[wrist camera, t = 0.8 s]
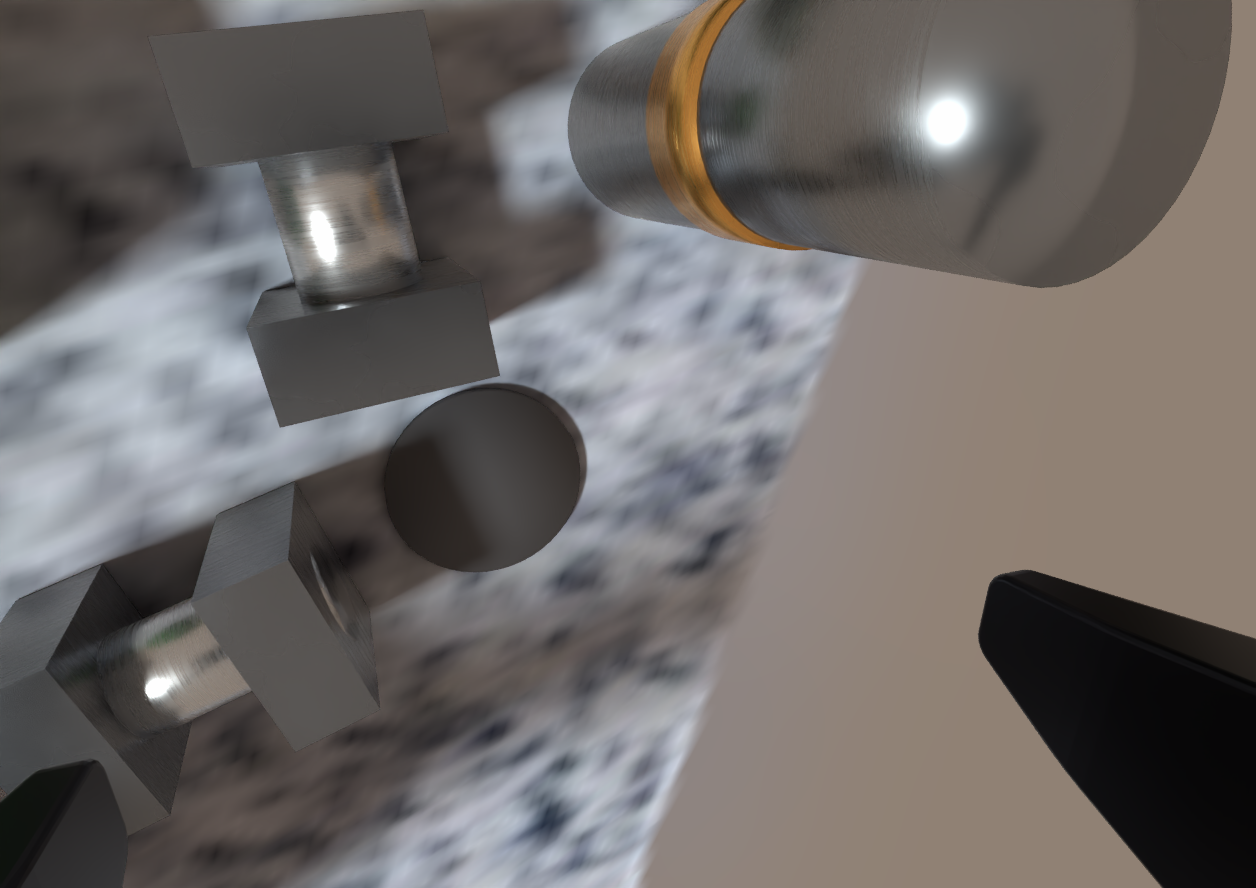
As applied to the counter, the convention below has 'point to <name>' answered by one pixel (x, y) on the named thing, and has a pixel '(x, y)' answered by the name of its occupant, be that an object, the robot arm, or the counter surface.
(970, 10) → the sleeve
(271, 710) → the grey metal block
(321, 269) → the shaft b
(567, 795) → the counter surface
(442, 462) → the pad
